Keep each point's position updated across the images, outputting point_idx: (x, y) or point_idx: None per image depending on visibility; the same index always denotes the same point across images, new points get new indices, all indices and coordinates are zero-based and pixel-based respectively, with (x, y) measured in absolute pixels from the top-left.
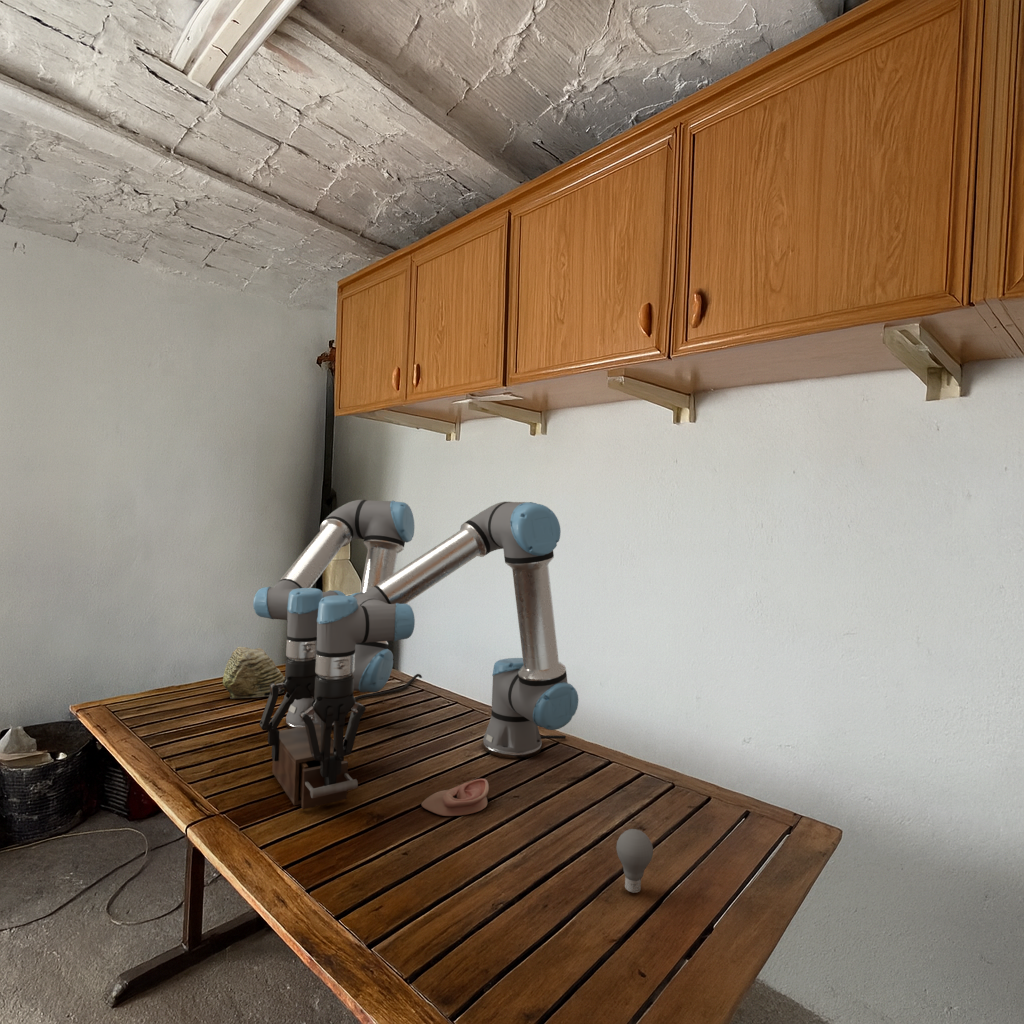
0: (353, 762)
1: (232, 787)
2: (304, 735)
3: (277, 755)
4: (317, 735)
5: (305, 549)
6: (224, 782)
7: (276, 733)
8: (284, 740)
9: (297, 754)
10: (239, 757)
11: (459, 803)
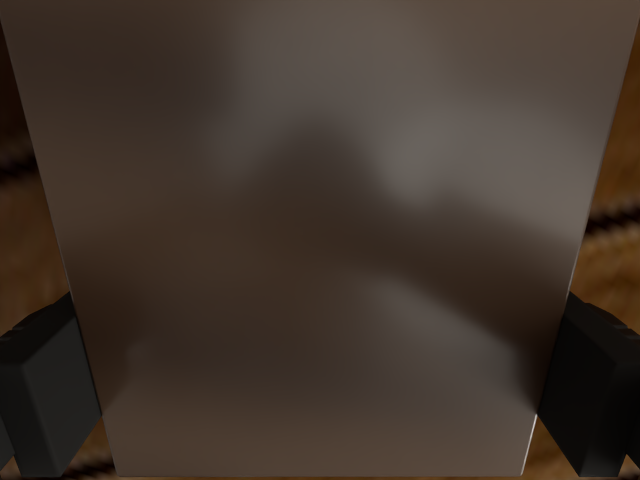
0: (33, 230)
1: (632, 229)
2: (308, 276)
3: None
4: (173, 211)
5: None
6: (634, 293)
7: (636, 352)
8: (548, 236)
9: None
10: (482, 476)
11: None
